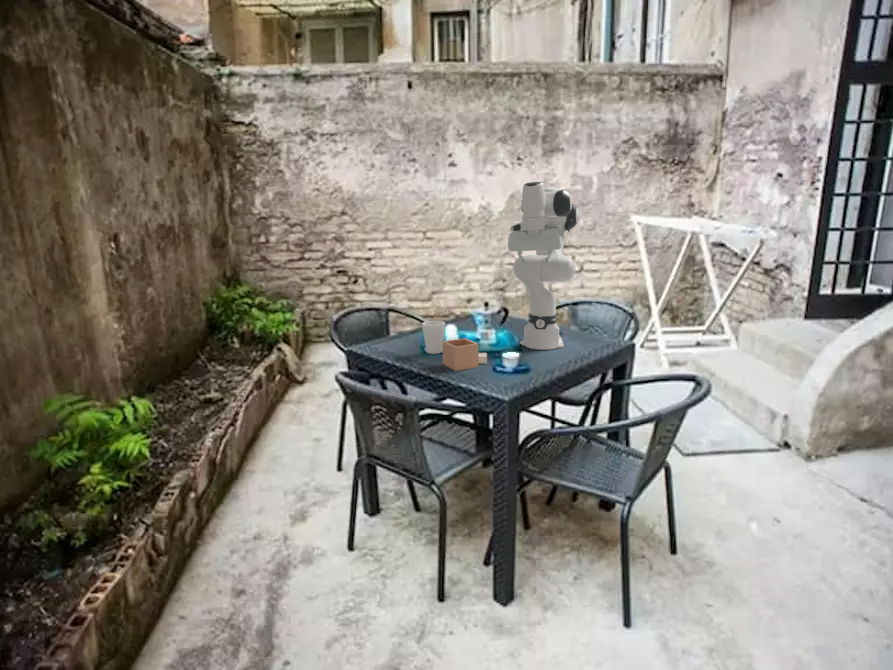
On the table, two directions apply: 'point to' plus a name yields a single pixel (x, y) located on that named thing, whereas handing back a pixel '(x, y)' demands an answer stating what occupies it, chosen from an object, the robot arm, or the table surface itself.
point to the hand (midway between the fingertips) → (535, 262)
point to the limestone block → (482, 358)
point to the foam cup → (433, 336)
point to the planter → (460, 354)
